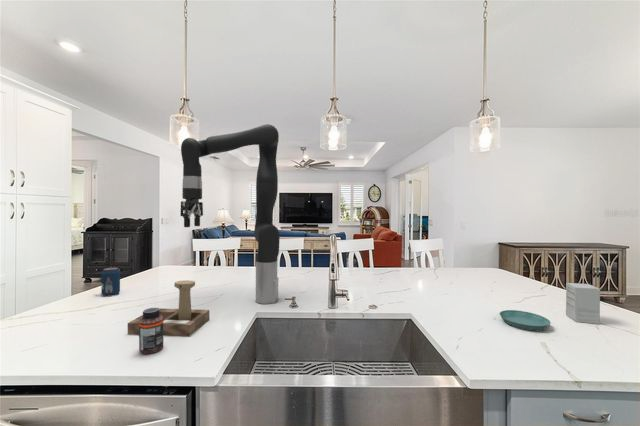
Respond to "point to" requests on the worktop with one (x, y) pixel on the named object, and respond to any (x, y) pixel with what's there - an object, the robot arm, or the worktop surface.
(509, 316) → the saucer
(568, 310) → the supplement box
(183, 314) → the handle
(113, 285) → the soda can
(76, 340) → the worktop surface
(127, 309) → the worktop surface
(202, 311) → the brown wooden frame
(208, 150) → the robot arm
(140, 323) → the supplement bottle
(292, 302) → the worktop surface
